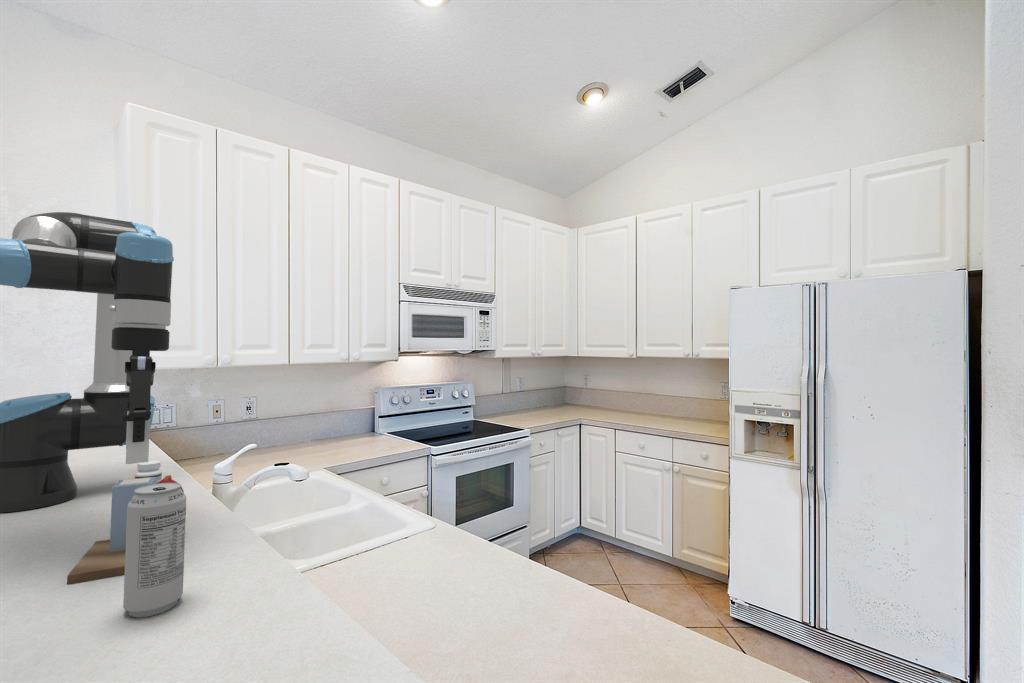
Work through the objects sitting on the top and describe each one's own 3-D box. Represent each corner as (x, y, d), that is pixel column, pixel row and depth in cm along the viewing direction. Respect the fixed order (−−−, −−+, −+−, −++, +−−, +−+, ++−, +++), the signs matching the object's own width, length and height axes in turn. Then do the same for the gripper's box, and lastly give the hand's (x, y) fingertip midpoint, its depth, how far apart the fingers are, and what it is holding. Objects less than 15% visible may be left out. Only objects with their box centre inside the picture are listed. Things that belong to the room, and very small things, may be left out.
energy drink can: (174, 590, 63) (178, 479, 64) (189, 605, 59) (193, 486, 60) (117, 608, 59) (122, 488, 59) (129, 625, 55) (134, 497, 55)
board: (95, 548, 77) (95, 541, 77) (176, 536, 82) (177, 529, 82) (66, 584, 65) (67, 575, 65) (164, 567, 70) (165, 559, 70)
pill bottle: (128, 502, 102) (129, 463, 102) (150, 496, 106) (152, 459, 106) (143, 504, 100) (145, 465, 101) (165, 498, 105) (167, 461, 105)
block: (116, 541, 77) (119, 479, 77) (154, 535, 80) (156, 475, 80) (109, 552, 73) (112, 486, 73) (149, 545, 75) (152, 482, 76)
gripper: (113, 328, 85) (108, 445, 84) (110, 322, 66) (103, 474, 65) (165, 330, 90) (160, 440, 89) (175, 325, 70) (169, 466, 70)
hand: (136, 455), depth 77 cm, fingers open, 13 cm apart
